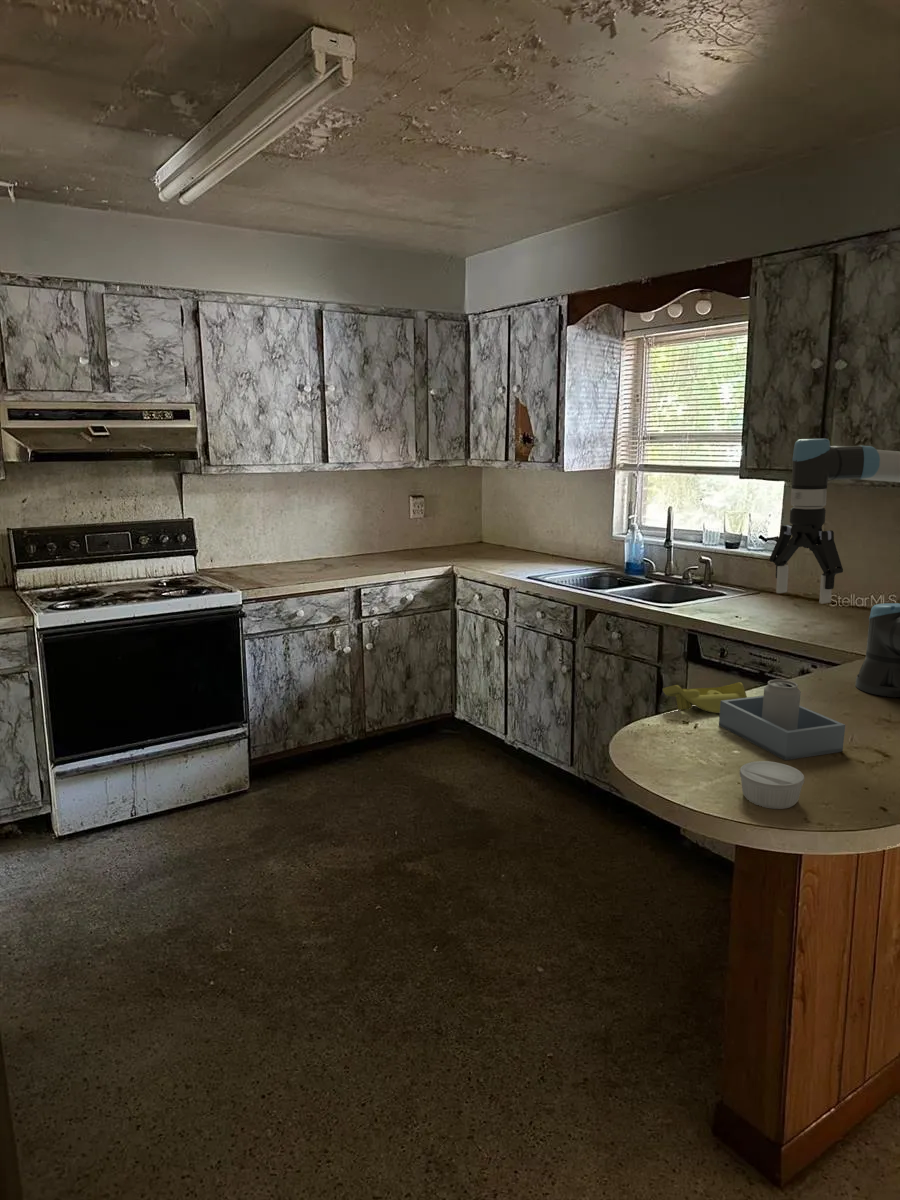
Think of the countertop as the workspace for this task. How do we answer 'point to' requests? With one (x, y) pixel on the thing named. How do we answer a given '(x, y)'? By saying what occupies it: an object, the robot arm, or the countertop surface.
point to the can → (781, 704)
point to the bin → (782, 730)
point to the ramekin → (771, 784)
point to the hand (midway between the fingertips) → (802, 597)
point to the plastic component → (705, 696)
